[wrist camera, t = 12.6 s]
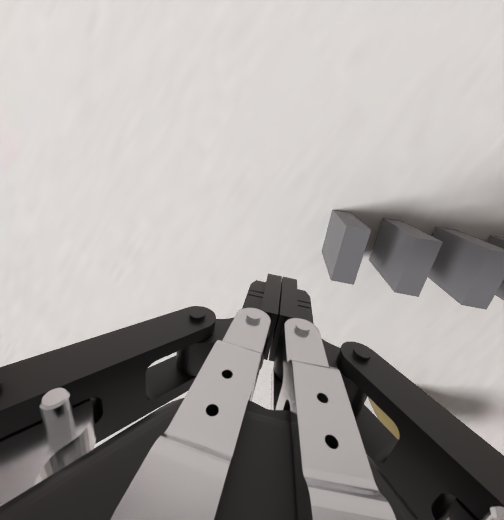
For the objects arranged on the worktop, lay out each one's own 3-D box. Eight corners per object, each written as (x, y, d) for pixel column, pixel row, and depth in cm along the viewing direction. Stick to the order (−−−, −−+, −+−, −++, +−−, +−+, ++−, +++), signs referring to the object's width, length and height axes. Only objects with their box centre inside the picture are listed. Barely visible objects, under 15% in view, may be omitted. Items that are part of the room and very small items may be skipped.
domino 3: (436, 271, 28) (486, 309, 21) (417, 268, 28) (461, 304, 21) (455, 229, 26) (518, 254, 19) (435, 226, 27) (490, 249, 19)
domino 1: (338, 254, 29) (353, 284, 22) (321, 251, 30) (330, 280, 22) (350, 212, 27) (371, 230, 20) (332, 209, 28) (346, 225, 20)
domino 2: (386, 263, 29) (418, 296, 21) (368, 260, 29) (394, 292, 22) (402, 221, 27) (442, 242, 20) (383, 218, 27) (416, 237, 20)
